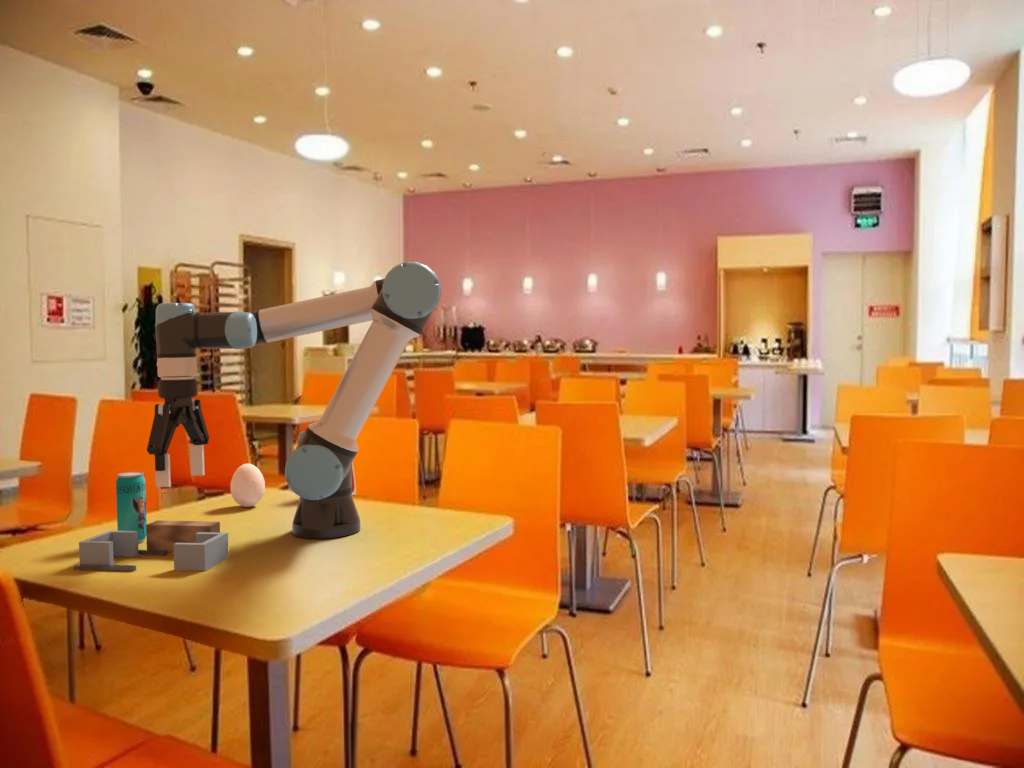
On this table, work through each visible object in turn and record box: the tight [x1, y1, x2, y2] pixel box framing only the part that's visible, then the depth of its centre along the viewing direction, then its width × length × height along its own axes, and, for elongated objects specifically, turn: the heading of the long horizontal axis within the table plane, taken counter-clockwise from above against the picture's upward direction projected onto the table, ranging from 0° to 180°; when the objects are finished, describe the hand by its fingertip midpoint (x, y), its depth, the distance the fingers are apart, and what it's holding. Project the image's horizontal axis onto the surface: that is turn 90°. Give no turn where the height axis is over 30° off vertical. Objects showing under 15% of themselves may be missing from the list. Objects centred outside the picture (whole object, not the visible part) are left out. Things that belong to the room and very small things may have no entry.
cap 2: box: [173, 532, 229, 572], centre depth 157 cm, size 6×10×5 cm, turn 174°
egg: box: [229, 463, 266, 508], centre depth 211 cm, size 9×9×11 cm
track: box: [73, 549, 169, 572], centre depth 159 cm, size 12×12×1 cm
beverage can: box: [115, 471, 148, 545], centre depth 175 cm, size 6×6×15 cm
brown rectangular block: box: [146, 520, 221, 554], centre depth 167 cm, size 14×4×6 cm, turn 83°
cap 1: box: [78, 530, 140, 565], centre depth 160 cm, size 6×10×5 cm, turn 174°
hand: (181, 480), depth 167 cm, fingers open, 13 cm apart
